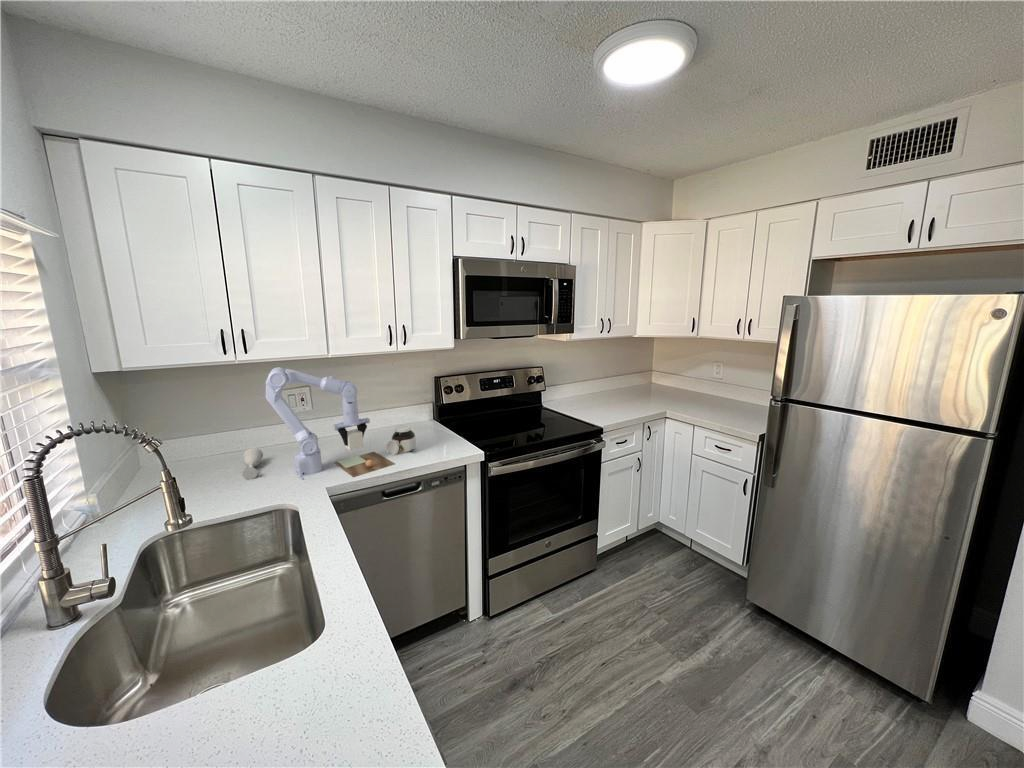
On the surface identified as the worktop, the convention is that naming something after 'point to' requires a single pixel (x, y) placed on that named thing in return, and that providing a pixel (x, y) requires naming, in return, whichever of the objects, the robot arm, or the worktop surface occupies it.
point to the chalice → (251, 462)
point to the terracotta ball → (369, 463)
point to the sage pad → (352, 461)
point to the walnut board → (362, 469)
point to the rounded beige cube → (354, 439)
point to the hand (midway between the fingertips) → (353, 443)
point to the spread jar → (401, 440)
